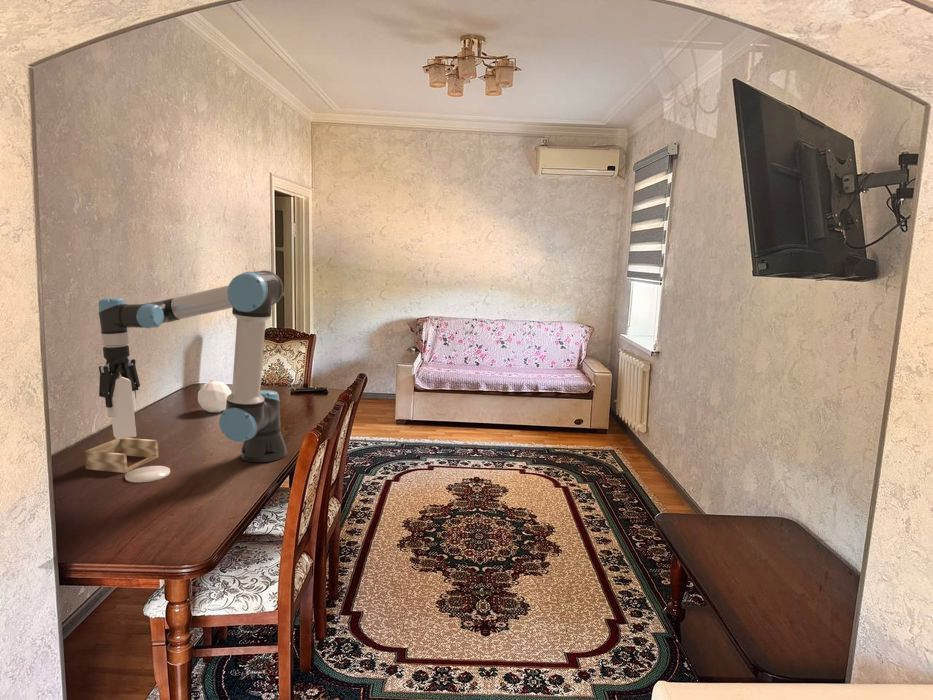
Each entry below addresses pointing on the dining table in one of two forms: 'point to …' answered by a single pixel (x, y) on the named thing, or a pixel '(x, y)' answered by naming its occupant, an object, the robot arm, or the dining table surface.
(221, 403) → the geodesic sphere
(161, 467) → the cream flat disc
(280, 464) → the dining table surface
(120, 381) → the milk
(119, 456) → the shelf bay
